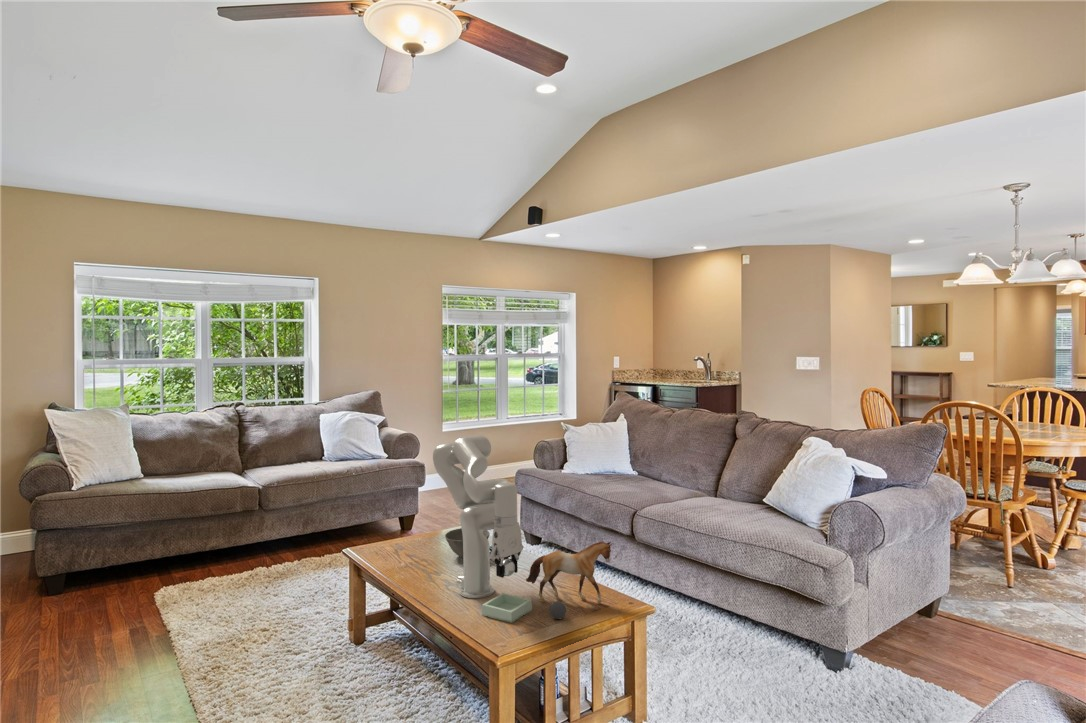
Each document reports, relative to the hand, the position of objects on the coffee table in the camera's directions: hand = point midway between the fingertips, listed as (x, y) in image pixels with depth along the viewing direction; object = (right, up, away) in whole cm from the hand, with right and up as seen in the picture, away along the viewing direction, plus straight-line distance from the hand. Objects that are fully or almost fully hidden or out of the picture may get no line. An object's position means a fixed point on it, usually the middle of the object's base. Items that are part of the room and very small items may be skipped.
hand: (507, 573), depth 217 cm
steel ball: (0, -1, 0) cm, 1 cm away
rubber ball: (+17, -13, -4) cm, 22 cm away
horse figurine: (+21, -13, +13) cm, 28 cm away
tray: (0, -13, 0) cm, 13 cm away
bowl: (-20, -12, +58) cm, 63 cm away
